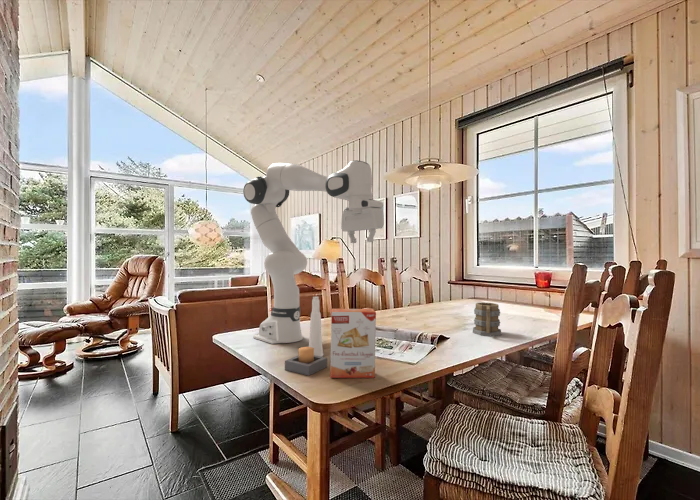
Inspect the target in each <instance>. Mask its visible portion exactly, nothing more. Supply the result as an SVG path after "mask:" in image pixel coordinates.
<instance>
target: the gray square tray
mask: <svg viewBox="0 0 700 500" xmlns="http://www.w3.org/2000/svg"><path fill="white" fill-rule="evenodd" d="M327 367H328V357H325V356H322V357H320V356H315V355H314V361H313V362H311V363H301V362H299V354H298V355H296V356H293V357H290V358H288V359H285V360H284V370H285V371H288V372H293V373H296V374H300V375H305V376H308V377H309V376H311V375H313V374H316V373H317V372H319V371H321V370H323V369H325V368H327Z"/></svg>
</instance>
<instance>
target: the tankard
mask: <svg viewBox="0 0 700 500" xmlns="http://www.w3.org/2000/svg"><path fill="white" fill-rule="evenodd" d="M500 310H501V309H500V307H499V304H498V303H494V302H476V303H475V307H474V310H473V312H474V315H475V317H474V319H473V323H474V325H475V326H473V327H472V333H473V334H476V335H479V336H484V337H500V336H502V329H500V328H499V327H500V326H501V325H500V324H501V321H500V319H499V317H500V315H501V311H500Z"/></svg>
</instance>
